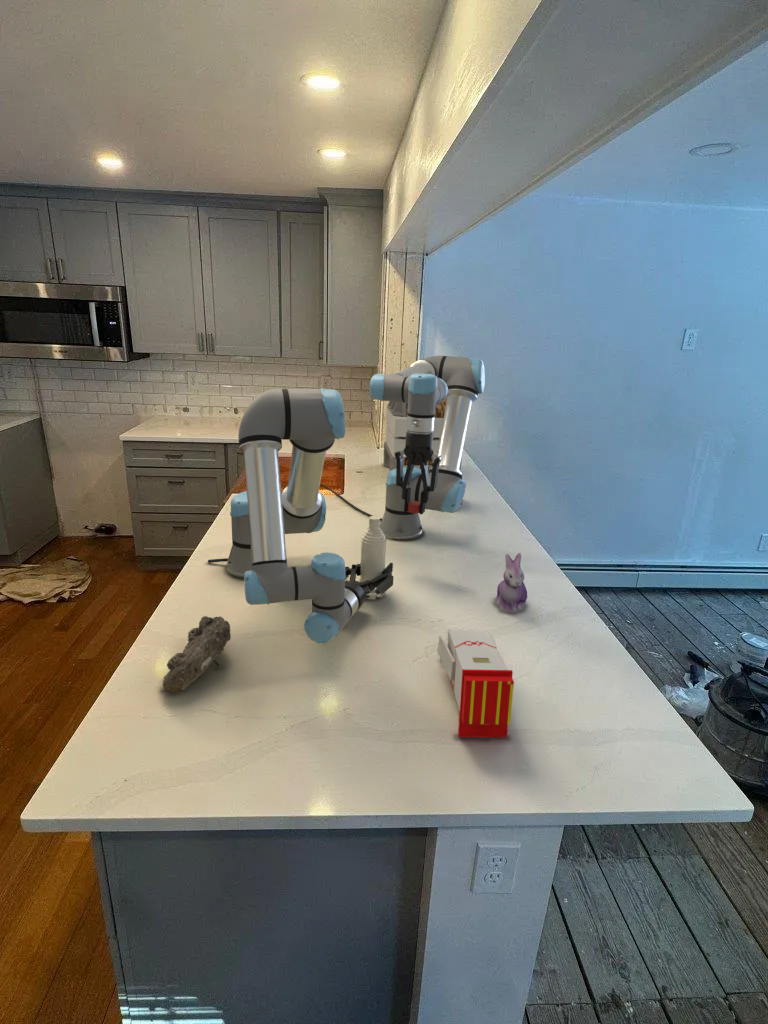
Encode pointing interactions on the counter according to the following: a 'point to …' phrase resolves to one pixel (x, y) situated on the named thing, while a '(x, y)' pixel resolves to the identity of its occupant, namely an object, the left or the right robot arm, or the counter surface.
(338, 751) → the counter surface
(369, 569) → the bottle
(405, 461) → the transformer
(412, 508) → the cap
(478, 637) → the toy
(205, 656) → the fossil
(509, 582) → the figurine
